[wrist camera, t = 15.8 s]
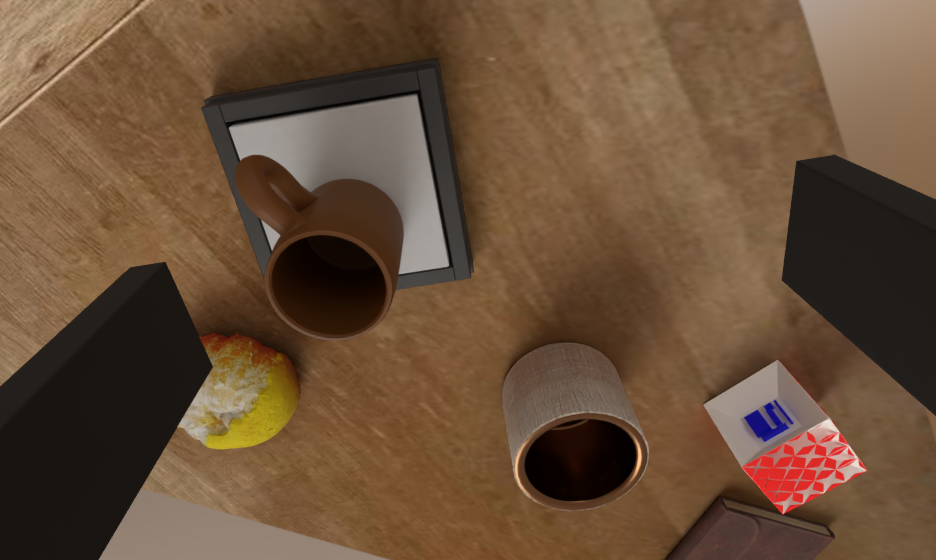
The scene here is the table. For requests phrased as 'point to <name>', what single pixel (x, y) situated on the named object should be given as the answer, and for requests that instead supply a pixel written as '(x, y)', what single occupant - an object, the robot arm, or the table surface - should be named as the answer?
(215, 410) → the fruit
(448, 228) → the scale
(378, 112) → the scale pan
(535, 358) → the planter
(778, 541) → the notebook
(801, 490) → the red and white box
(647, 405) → the table surface
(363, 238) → the mug
